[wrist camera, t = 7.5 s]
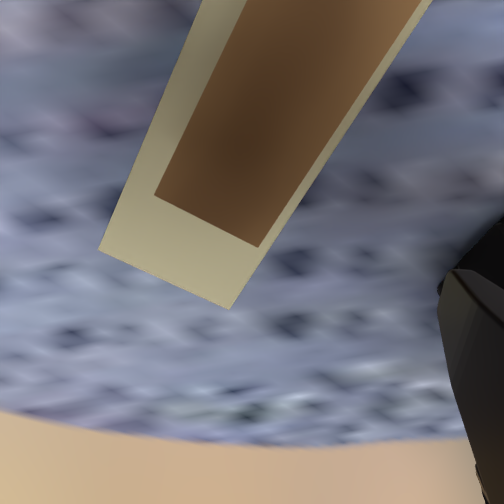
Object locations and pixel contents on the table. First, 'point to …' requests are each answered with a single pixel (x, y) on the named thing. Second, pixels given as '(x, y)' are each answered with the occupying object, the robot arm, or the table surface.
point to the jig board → (160, 153)
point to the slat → (276, 106)
